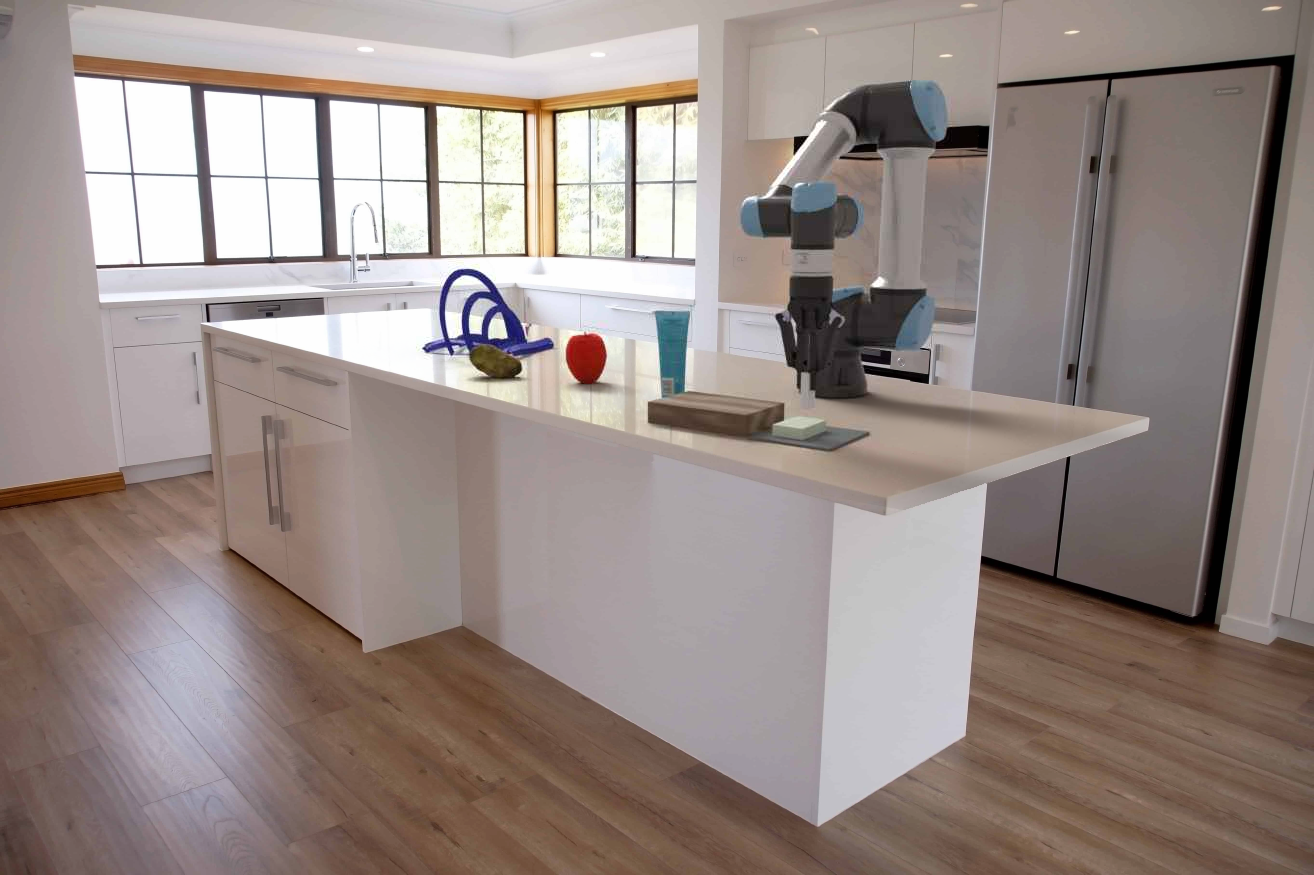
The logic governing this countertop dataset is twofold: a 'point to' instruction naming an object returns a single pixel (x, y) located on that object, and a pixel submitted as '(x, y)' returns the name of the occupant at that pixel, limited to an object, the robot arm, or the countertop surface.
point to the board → (716, 413)
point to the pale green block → (799, 428)
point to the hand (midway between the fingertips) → (807, 407)
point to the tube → (672, 350)
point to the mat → (815, 438)
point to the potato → (494, 361)
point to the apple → (586, 357)
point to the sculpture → (485, 322)
